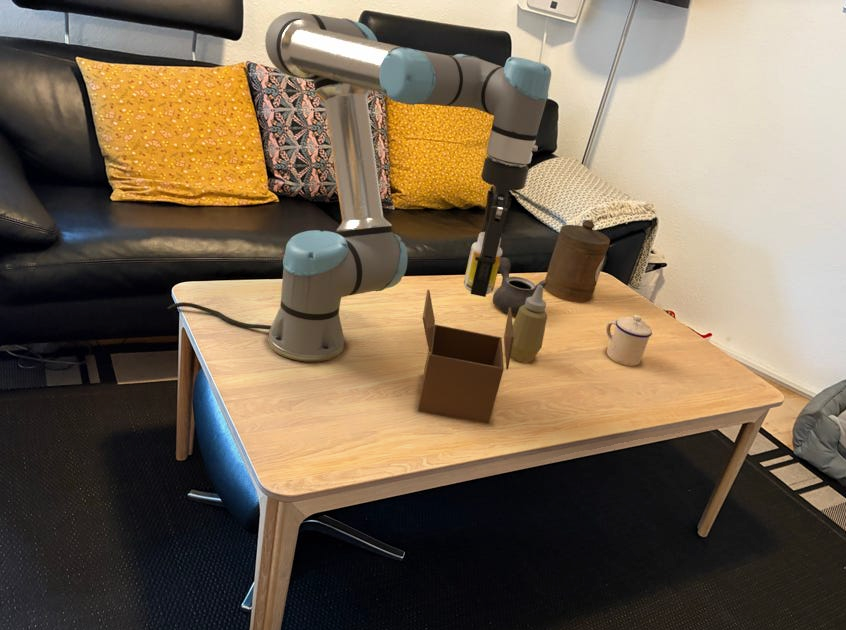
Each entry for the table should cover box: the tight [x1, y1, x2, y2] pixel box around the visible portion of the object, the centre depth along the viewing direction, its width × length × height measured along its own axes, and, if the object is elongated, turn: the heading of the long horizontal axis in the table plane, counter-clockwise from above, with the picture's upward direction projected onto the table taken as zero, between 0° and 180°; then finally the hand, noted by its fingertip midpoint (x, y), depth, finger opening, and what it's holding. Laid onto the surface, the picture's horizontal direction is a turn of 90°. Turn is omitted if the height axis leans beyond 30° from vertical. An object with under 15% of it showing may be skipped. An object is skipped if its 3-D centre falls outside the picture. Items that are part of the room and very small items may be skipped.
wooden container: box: [544, 219, 611, 303], centre depth 195 cm, size 15×15×22 cm
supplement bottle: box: [463, 231, 503, 295], centre depth 120 cm, size 6×6×10 cm
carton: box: [417, 307, 514, 425], centre depth 130 cm, size 15×13×19 cm
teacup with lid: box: [605, 314, 653, 367], centre depth 167 cm, size 12×9×12 cm
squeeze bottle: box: [510, 285, 548, 363], centre depth 153 cm, size 8×8×18 cm
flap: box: [421, 289, 436, 352], centre depth 126 cm, size 7×13×1 cm
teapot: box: [492, 256, 547, 316], centre depth 181 cm, size 19×15×10 cm
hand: (478, 287), depth 122 cm, fingers closed on supplement bottle, 6 cm apart
